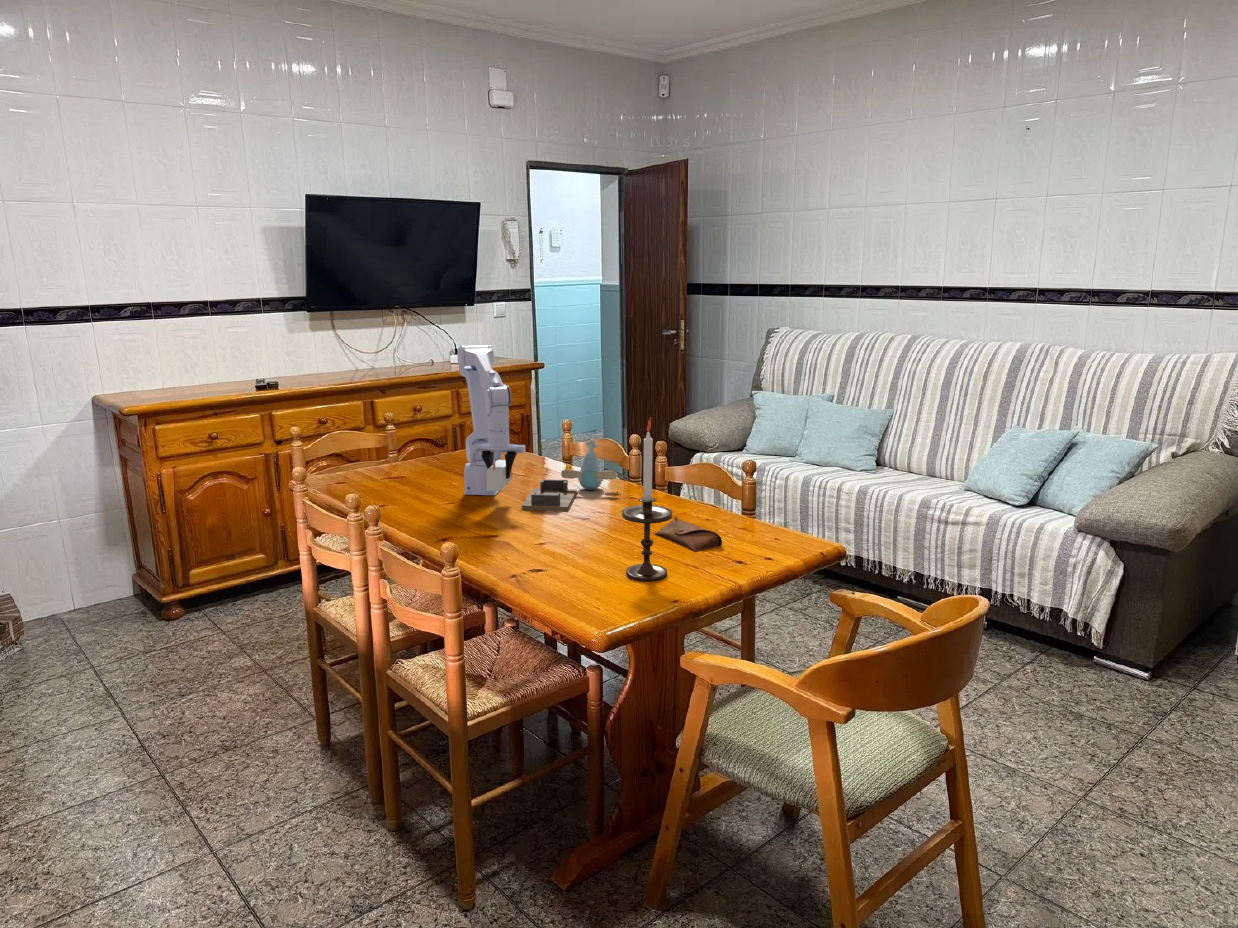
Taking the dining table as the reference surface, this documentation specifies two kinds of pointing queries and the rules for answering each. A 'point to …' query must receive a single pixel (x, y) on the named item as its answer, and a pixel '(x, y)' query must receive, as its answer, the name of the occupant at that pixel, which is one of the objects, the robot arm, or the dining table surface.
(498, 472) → the white rectangular block
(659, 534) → the sunglasses case
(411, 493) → the dining table surface
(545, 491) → the cradle jig
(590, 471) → the toy figure
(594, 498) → the dining table surface
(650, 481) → the candlestick
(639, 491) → the dining table surface
